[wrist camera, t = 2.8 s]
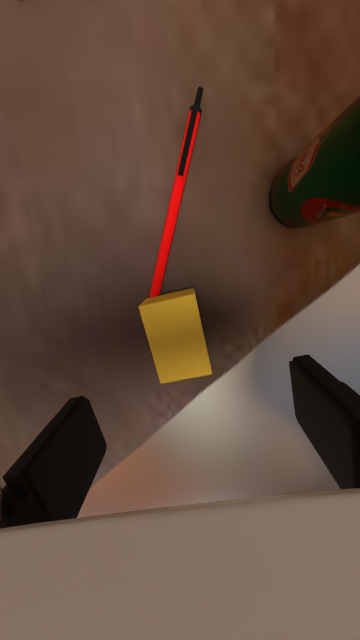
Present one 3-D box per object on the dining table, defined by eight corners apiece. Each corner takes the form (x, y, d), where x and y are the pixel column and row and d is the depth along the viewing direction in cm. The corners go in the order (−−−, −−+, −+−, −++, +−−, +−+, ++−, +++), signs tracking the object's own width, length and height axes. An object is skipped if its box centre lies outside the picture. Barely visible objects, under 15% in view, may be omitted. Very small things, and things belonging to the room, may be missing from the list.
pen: (206, 94, 17) (207, 83, 16) (152, 327, 22) (150, 331, 21) (194, 91, 17) (194, 80, 16) (143, 325, 22) (141, 328, 21)
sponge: (165, 362, 23) (160, 384, 19) (147, 297, 21) (138, 306, 17) (208, 354, 22) (212, 374, 19) (193, 286, 21) (194, 293, 17)
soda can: (304, 144, 17) (535, -82, 6) (344, 192, 18) (618, 80, 7) (255, 197, 18) (365, 100, 7) (295, 241, 19) (454, 219, 8)
